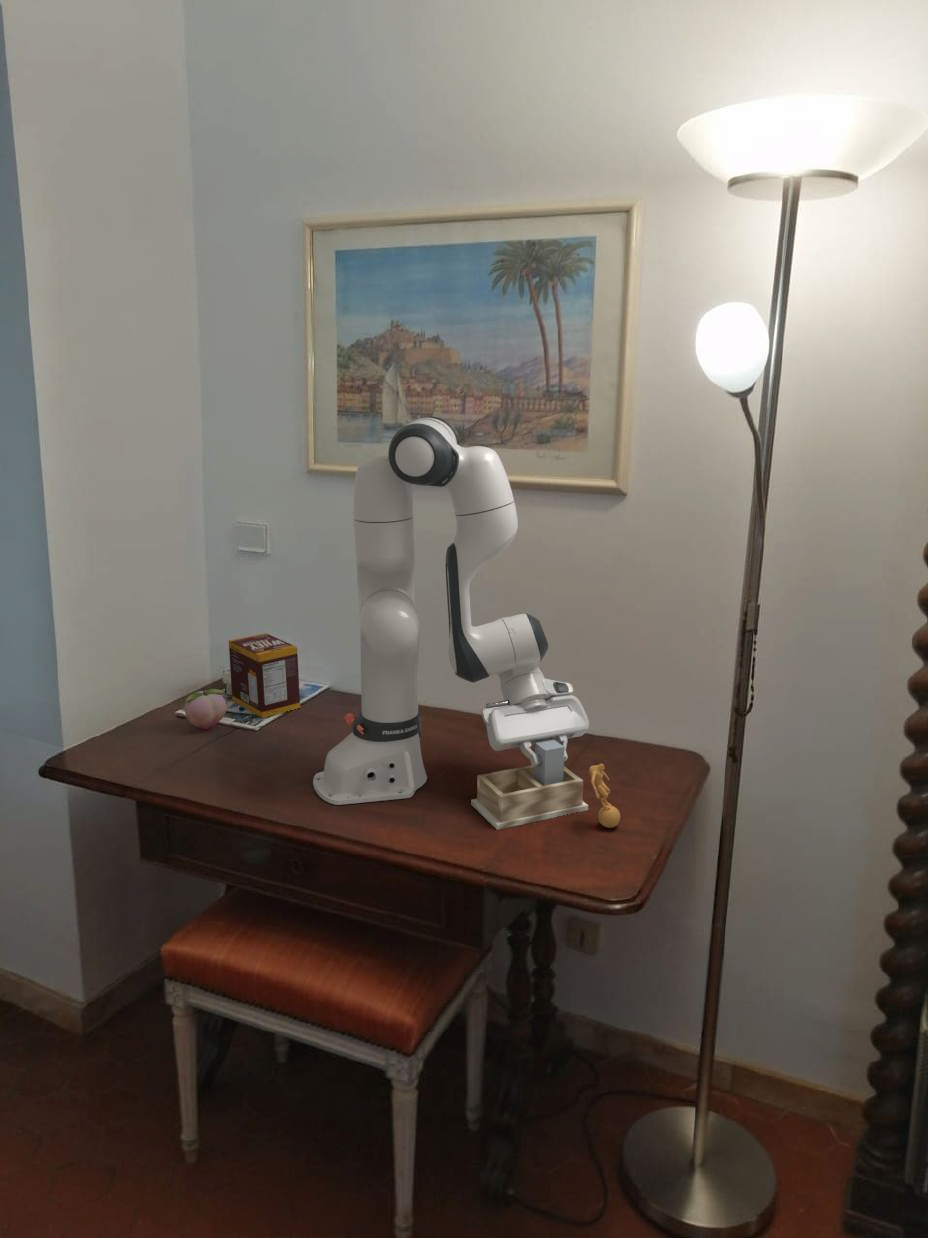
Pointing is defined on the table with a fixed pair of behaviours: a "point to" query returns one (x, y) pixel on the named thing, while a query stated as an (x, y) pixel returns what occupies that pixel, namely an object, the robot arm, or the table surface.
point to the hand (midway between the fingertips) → (550, 763)
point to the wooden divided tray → (526, 797)
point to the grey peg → (549, 762)
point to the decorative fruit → (205, 708)
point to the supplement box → (264, 674)
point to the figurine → (604, 797)
